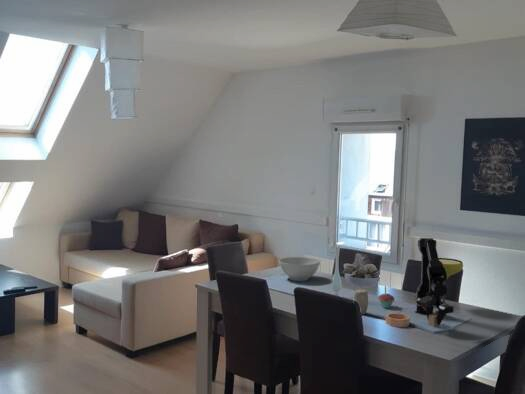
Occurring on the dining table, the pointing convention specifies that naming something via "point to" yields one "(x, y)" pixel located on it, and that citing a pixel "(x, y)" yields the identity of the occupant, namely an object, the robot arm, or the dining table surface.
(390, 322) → the bowl
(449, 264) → the cocktail glass
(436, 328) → the cover
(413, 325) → the mat
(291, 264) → the decorative bowl
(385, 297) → the cupcake
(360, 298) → the carving
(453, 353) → the dining table surface
